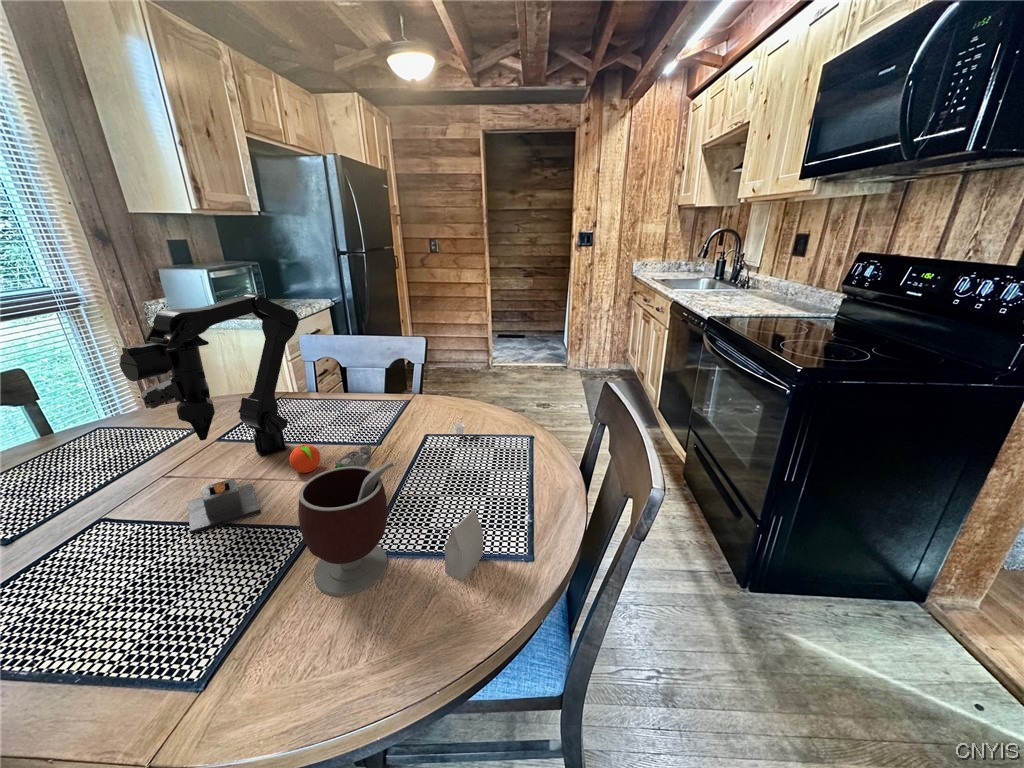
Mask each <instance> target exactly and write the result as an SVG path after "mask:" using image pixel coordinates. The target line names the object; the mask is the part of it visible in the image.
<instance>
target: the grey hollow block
mask: <svg viewBox="0 0 1024 768" xmlns="http://www.w3.org/2000/svg"><path fill="white" fill-rule="evenodd" d="M221 482H222V483H224V485H225V489H226V491H225V492H221V493H217V494H216V493H215V489H214V485H215V484H217V483H221ZM200 487H201V494H202V496H201V497H203V502H204V506H205V510H206V514H207V517H210V516H213V515H217V514H220V513H223V512H227V511H230V510H233V509H237V508H240V507H242V506H241V501H240V497H239V492H238V488H237V487H238V485H237V482H236V478H235V477H234V478H230V479H226V480H223V481H219V482H215V483H210V484H207V485H204V486H200Z"/></svg>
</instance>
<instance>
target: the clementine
mask: <svg viewBox="0 0 1024 768" xmlns="http://www.w3.org/2000/svg"><path fill="white" fill-rule="evenodd" d="M320 453H321V452H320V451H319V449H318V448H317V447H315V446H313V445H312V444H306V443H305V444H300V445H299V446H297V447H295V448H294V449H293V450H292V452H291V453H290V455H289V464H290V467H291V468H292V469H293V470H294V471H296V472H298V473H303V474H304V473H305V474H306V473H311V472H313V470H316V468H317V467H318V466H319V464H320V462H321V454H320Z"/></svg>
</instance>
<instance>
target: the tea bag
mask: <svg viewBox="0 0 1024 768" xmlns="http://www.w3.org/2000/svg"><path fill="white" fill-rule="evenodd" d="M482 556H483V557H484V529H483V528H482V524H481V523H480V521H479V517H478V515H477V513H476V509H472V510H471V511H470V512H469V513H468V514H466V516H465V517H464V518H462V519H461V520H460V521H459V522H458V523H457V524H456V525H455V526H454V527H453V528H452V529H451V532H450V535H449V538H448V539H447V541H446V542H445V544H444V568H445V569H444V571H445V573H444V574H446V575H449V576H451V577H452V578H454V579H457V580H459V581H461V582H463V581H464V580H465V579H466V578H467V577H468V575H469V574H470V573H471V572H472V571H473V569H474V568H475V567H476V566H477V564H478V563H479V562H480V561H481V560H482V559H481V557H482ZM483 557H482V558H483ZM480 559H481V560H480ZM479 560H480V561H479Z"/></svg>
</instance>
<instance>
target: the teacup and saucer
mask: <svg viewBox="0 0 1024 768" xmlns="http://www.w3.org/2000/svg"><path fill="white" fill-rule="evenodd" d="M452 427H453V429H454V430H453V429H452ZM453 431H454V433H455V434H463V433H464V431H465V424H464V423H461V422H459V423H455V424H454V425H451V426H450V432H453ZM464 434H465V433H464Z"/></svg>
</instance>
